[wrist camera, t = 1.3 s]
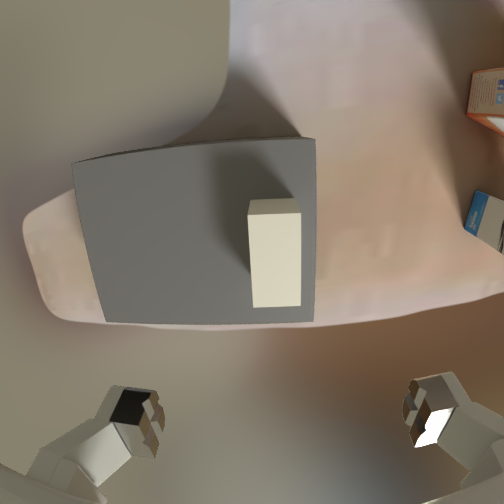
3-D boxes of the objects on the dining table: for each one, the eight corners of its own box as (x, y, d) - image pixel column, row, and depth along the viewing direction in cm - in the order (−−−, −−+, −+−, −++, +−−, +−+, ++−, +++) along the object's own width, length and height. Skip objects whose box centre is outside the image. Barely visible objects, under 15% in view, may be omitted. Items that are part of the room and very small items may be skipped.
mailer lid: (75, 162, 22) (40, 172, 17) (314, 138, 21) (326, 141, 16) (108, 318, 27) (87, 348, 22) (312, 317, 26) (320, 352, 21)
